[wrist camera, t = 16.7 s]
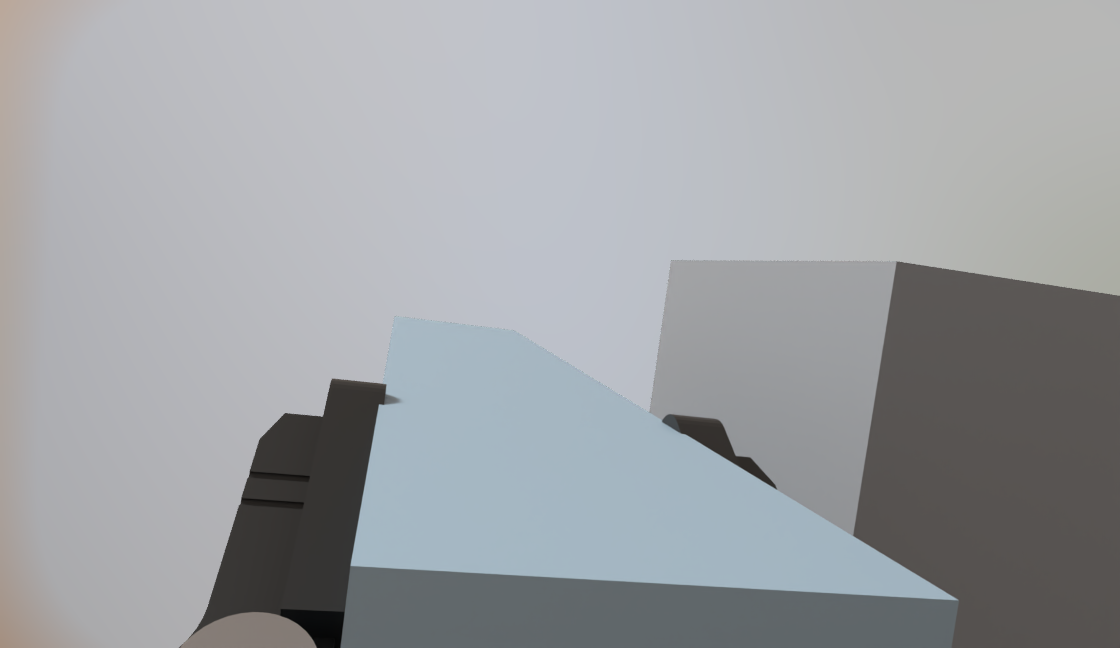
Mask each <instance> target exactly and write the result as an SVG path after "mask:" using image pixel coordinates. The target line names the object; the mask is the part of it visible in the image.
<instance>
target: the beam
mask: <svg viewBox="0 0 1120 648" xmlns="http://www.w3.org/2000/svg"><path fill="white" fill-rule="evenodd" d="M383 384H387V386H386V394H385V401H384V405H380V404H379V408H378V413H377V419H376V425H375V430H374V436H373V442H372V447H371V453H370V458H369V464H368V470H367V475H366V481H365V487H364V492H363V498H362V504H361V509H360V515H359V521H358V526H357V532H356V538H355V543H354V549H353V554H352V560H351V566H350V574H349V582H348V590H347V598H346V607H345V615H344V623H343V631H342V639H341V648H951V647H952V641H953V635H954V629H955V622H956V616H957V610H958V604H959V600H958V599H956V598H954V597H953V596H951V595H949V594H948V593H946V592H944V591H943V590H941V589H939V588H938V587H936V586H935V585H933V584H931V583H930V582H928V581H926V580H925V579H923V578H921V577H920V576H918V575H916V574H915V573H913V572H911V571H910V570H908V569H906V568H905V567H903V566H902V565H900V564H898V563H897V562H895V561H893V560H892V559H890V558H888V557H887V556H885V555H883V554H882V553H880V552H878V551H877V550H875V549H874V548H872V547H870V546H869V545H867V544H865V543H864V542H862V541H860V540H859V539H857V538H855V537H854V536H852V535H850V534H849V533H847V532H846V531H844V530H842V529H841V528H839V527H837V526H836V525H834V524H832V523H831V522H829V521H827V520H826V519H824V518H822V517H821V516H819V515H818V514H816V513H814V512H813V511H811V510H809V509H808V508H806V507H804V506H803V505H801V504H799V503H798V502H796V501H794V500H793V499H791V498H789V497H788V496H786V495H785V494H783V493H781V492H780V491H778V490H776V489H775V488H773V487H771V486H770V485H768V484H766V483H765V482H763V481H761V480H760V479H758V478H757V477H755V476H753V475H752V474H750V473H748V472H747V471H745V470H743V469H742V468H740V467H738V466H737V465H735V464H733V463H732V462H730V461H729V460H727V459H725V458H724V457H722V456H720V455H719V454H717V453H715V452H714V451H712V450H710V449H709V448H707V447H705V446H704V445H702V444H701V443H699V442H697V441H696V440H694V439H692V438H691V437H689V436H687V435H686V434H681V433H679V432H677V431H676V430H674V429H672V428H671V427H669V426H668V425H666V424H664V423H663V422H662V420H661V419H659V418H658V417H656V416H654V415H653V414H651V413H649V412H648V411H646V410H644V409H643V408H641V407H639V406H638V405H636V404H634V403H633V402H631V401H629V400H628V399H626V398H625V397H623V396H621V395H620V394H618V393H616V392H615V391H613V390H611V389H610V388H608V387H607V386H605V385H603V384H602V383H600V382H598V381H597V380H595V379H593V378H591V377H590V376H588V375H587V374H585V373H583V372H582V371H580V370H578V369H577V368H575V367H574V366H572V365H570V364H569V363H567V362H565V361H564V360H562V359H560V358H559V357H557V356H555V355H554V354H552V353H550V352H549V351H547V350H546V349H544V348H542V347H541V346H539V345H537V344H536V343H534V342H532V341H531V340H529V339H527V338H526V337H524V336H523V335H521V334H519V333H517V332H516V331H514V330H506V329H498V328H489V327H482V326H473V325H465V324H457V323H448V322H440V321H432V320H423V319H415V318H407V317H398V316H395V317H394V324H393V329H392V334H391V340H390V346H389V351H388V357H387V363H386V368H385V374H384V379H383Z"/></svg>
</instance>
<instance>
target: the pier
mask: <svg viewBox="0 0 1120 648" xmlns="http://www.w3.org/2000/svg"><path fill="white" fill-rule="evenodd" d="M649 413H651V414H653V415H654V416H656V417H658V418H659V419H661V420H663V418H664V417H665V416H666V415H668V414H674V415H684V416H694V417H704V418H713V419H718V420H719V421H721V423H722V424H723V426H724V428H725V431H726V433H727V435H728V438H729V440H730V443H731V445H732V448H733V450H734V453H735V455H736V456H742V457H751V459H752V460H753V461H754V462H755V463H756V464H757V465H758V466H759V467H760V468H761V470H762V471H763V472H764V473H765V474H766V475H767V476H768V477H769V478H770V479H771V480H772V482H773V483H774V484H775V485H776V488H777V490H778V491H780V492H781V493H783V494H785V495H786V496H788V497H789V498H791V499H793V500H794V501H796V502H798V503H799V504H801V505H803V506H804V507H806V508H808V509H809V510H811V511H813V512H814V513H816V514H818V515H819V516H821V517H822V518H824V519H826V520H827V521H829V522H831V523H832V524H834V525H836V526H837V527H839V528H841V529H842V530H844V531H846V532H847V533H849V534H850V535H852V536H854V537H855V538H857V539H859V540H860V541H862V542H864V543H865V544H867V545H869V546H870V547H872V548H874V549H875V550H877V551H878V552H880V553H882V554H883V555H885V556H887V557H888V558H890V559H892V560H893V561H895V562H897V563H898V564H900V565H902V566H903V567H905V568H906V569H908V570H910V571H911V572H913V573H915V574H916V575H918V576H920V577H921V578H923V579H925V580H926V581H928V582H930V583H931V584H933V585H935V586H936V587H938V588H939V589H941V590H943V591H944V592H946V593H948V594H949V595H951V596H953V597H954V598H956V599H958V600H959V604H958V610H957V616H956V622H955V629H954V635H953V641H952V647H951V648H1120V296H1117V295H1110V294H1104V293H1098V292H1091V291H1085V290H1077V289H1072V288H1065V287H1058V286H1052V285H1045V284H1039V283H1033V282H1026V281H1019V280H1013V279H1007V278H1000V277H993V276H987V275H981V274H975V273H968V272H961V271H955V270H949V269H942V268H936V267H929V266H922V265H916V264H909V263H903V262H897V261H892V262H890V261H884V262H883V261H882V262H881V261H682V260H681V261H679V260H677V261H676V260H675V261H674V260H671V265H670V272H669V279H668V287H667V294H666V301H665V307H664V315H663V321H662V328H661V335H660V342H659V349H658V356H657V363H656V370H655V378H654V385H653V392H652V398H651V405H650V412H649Z"/></svg>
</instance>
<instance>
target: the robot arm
mask: <svg viewBox="0 0 1120 648" xmlns="http://www.w3.org/2000/svg"><path fill="white" fill-rule="evenodd" d="M386 386H387V384H379V383H369V382H360V381H350V380H340V379H332V380H331V384H330V388H329V392H328V397H327V401H326V406H325V411H324V415H323V417H320V416H309V415H298V414H288V413H285V414H284V415H283V416H282V417H281V418H280V419H279V420H278V421H277V422H276V423H275V424H274V425H273V426H272V427H271V428H270V430H268V431H267V432H266V433H265V434H264V435H263V436H262V437H261V438H260V440H259V444H258V446H257V450H256V453H255V456H254V459H253V463H252V466H251V469H250V475H249V478H248V479H247V482H246V485H245V489H244V491H243V495H242V499H241V504H240V505H239V508H238V511H237V514H236V517H235V521H234V524H233V527H232V530H231V533H230V537H229V540H228V543H227V546H226V549H225V553H224V556H223V559H222V562H221V566H220V569H219V572H218V575H217V579H216V582H215V585H214V588H213V591H212V595H211V598H210V601H209V604H208V607H207V610H206V612H205V615H204V617H203V619H202V621H201V622H200V624H199V626H198V627H197V629H196V630H195V631H194V632H193V634H192V635H191V636H190V637H189V639H188V640H187V641H186V642H185V643H184V644H182V645H181V646H180V647H179V648H341V639H342V631H343V623H344V615H345V607H346V598H347V590H348V582H349V574H350V566H351V560H352V554H353V549H354V543H355V538H356V532H357V526H358V521H359V515H360V509H361V504H362V498H363V492H364V487H365V481H366V475H367V470H368V464H369V458H370V453H371V447H372V442H373V436H374V430H375V425H376V419H377V413H378V408H379V404H380V405H384V401H385V394H386ZM662 422H663V423H664V424H666V425H668V426H669V427H671V428H672V429H674V430H676V431H677V432H679V433H681V434H686V435H687V436H689V437H691V438H692V439H694V440H696V441H697V442H699V443H701V444H702V445H704V446H705V447H707V448H709V449H710V450H712V451H714V452H715V453H717V454H719V455H720V456H722V457H724V458H725V459H727V460H729V461H730V462H732V463H733V464H735V465H737V466H738V467H740V468H742V469H743V470H745V471H747V472H748V473H750V474H752V475H753V476H755V477H757V478H758V479H760V480H761V481H763V482H765V483H766V484H768V485H770V486H771V487H773V488H775V489H776V490H777V488H776V485H775V484H774V483H773V482H772V480H771V479H770V478H769V477H768V476H767V475H766V474H765V473H764V472H763V471H762V470H761V468H760V467H759V466H758V465H757V464H756V463H755V462H754V461H753V460H752V459H751V457H742V456H736V455H735V453H734V450H733V448H732V445H731V443H730V440H729V438H728V435H727V433H726V431H725V428H724V426H723V424H722V423H721V421H719V420H718V419H713V418H704V417H694V416H684V415H674V414H668V415H666V416H665V417H664V418H663V420H662Z"/></svg>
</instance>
